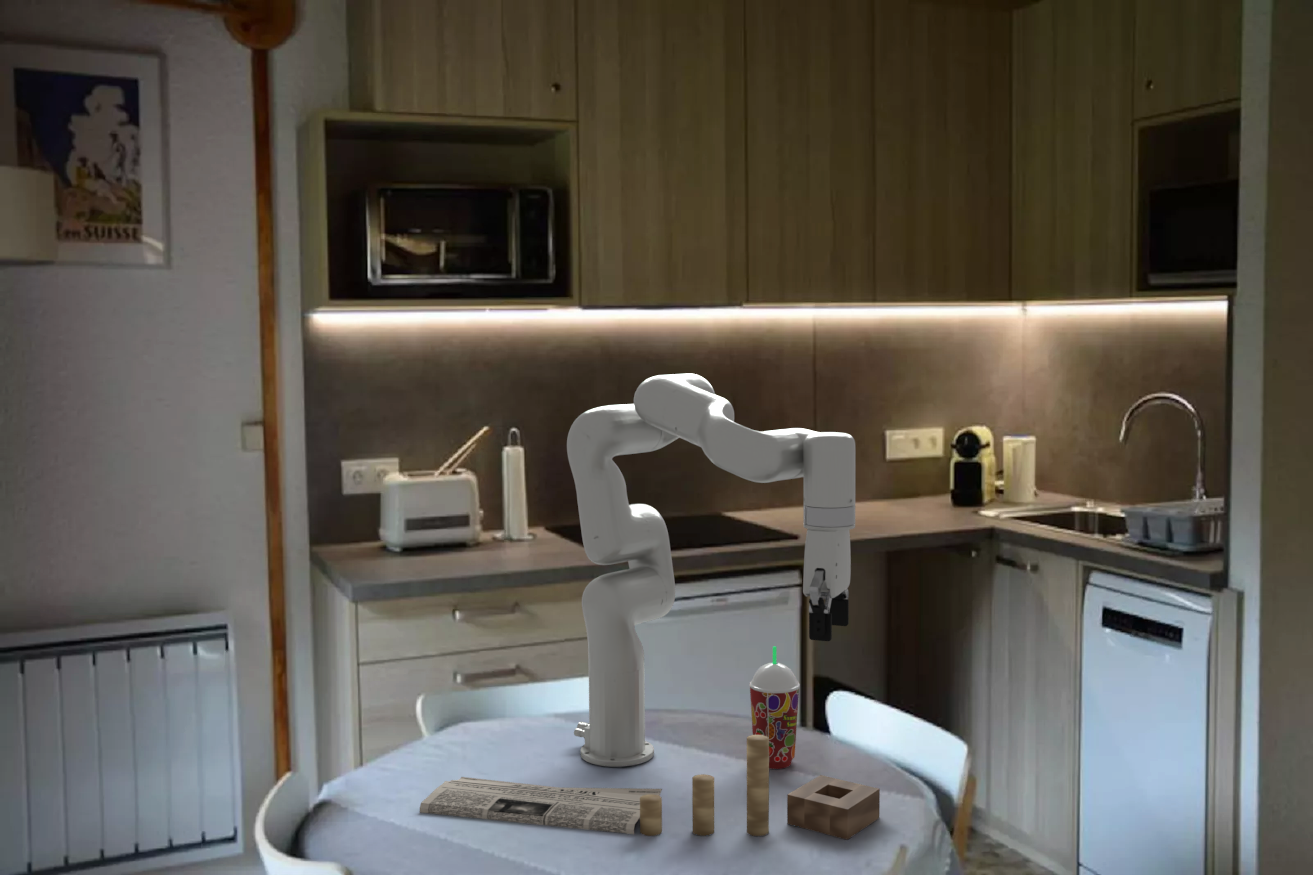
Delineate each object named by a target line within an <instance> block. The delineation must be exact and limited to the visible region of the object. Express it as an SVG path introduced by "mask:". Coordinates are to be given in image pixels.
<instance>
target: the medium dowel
mask: <svg viewBox="0 0 1313 875" xmlns="http://www.w3.org/2000/svg"><path fill="white" fill-rule="evenodd" d="M691 781H692V782H691V783H692V787H691V789H692V791H691V792H692V793H691V796H692V797H691V800H692V804H691V805H692V806H691V807H692V819H691V820H692V822H691V823H692V834H694V835H696V834H697V835H696V836H700V837H707V836H706V835H708V836H711V835H710V834H712V835H713V834H714V833H715V777H714V776H713V775H710V774H705V773H704V774H702V773H701V774H697V775H694V776H692V779H691Z"/></svg>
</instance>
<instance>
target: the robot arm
mask: <svg viewBox="0 0 1313 875" xmlns="http://www.w3.org/2000/svg"><path fill="white" fill-rule="evenodd" d="M566 439H567V440H566V452H567V460H568V463H569V467H570V470H571V473H572V477H573V480H574V485H575V491H576V500H577V506H578V507H577V508H578V515H579V516H578V517H579V523H580V530H581V538H582V543H583V548H584V552H585V555H586V558H588V560H589V561H591V562H592V563H594V564H595V565H600V566H608V565H609V566H610V565H614V564H615V565H616V564H621V563H626V562H628V563H627V564H628V567H629V568H628V569H627V568H626V569H622V570H618V571H617V570H616V571H612V572H608V573H604V574H601V575H599V576H598V577H595V578H593V579H592V580H591V581H590V582H588V584H587V585H586V586H585V588H584V590H583V592H582V595H581V609H582V615H583V619H584V620H583V621H584V625H585V629H586V630H585V631H586V638H587V652H588V653H587V655H588V656H587V657H588V659H587V660H588V662H587V663H588V718H589V719H588V722H585V721H579V722H578V724H577V726H576V728H575V729H574V730H573V735H574V736H575V737H579V738H583V739H584V744H583V745H582V746H581V747H580V757H581V759H582V760H584V761H586V762H587V763H589V764H592V765H596V766H601V767H609V768H616V767H617V768H619V767H631V766H636V765H640V764H643V763H645V762H648V761H650V760H651V759H653V757H654V755H655V747H654V745H653V744H652V743H650V742H649V741H647V740H646V707H645V706H646V703H645V702H646V701H645V700H646V698H645V697H646V695H645V694H646V693H645V690H646V688H645V686H646V682H645V681H646V680H645V679H646V678H645V677H646V676H645V673H646V670H645V652H644V647H643V643H642V642H641V640H640V637H639V635H638V633H637V631H636V629H635V626H637V625H640V624H643V623H647V622H650V621H654V620H657V619H661V618H663V617H664V616H666V615H667V614H669V613H670V611H671V609H672V608H673V606H674V603H675V599H676V583H675V576H674V567H673V566H674V565H673V560H672V559H673V558H672V551H671V543H670V535H669V532H668V528H667V525H666V522H665V520H664V518H663V516H662V514H660V512H659V511H658V510H657V509H656V508H654V507H653V506H652V505H649V504H646V503H631V504H630V503H629V499H628V492H627V485H626V484H627V483H626V480H625V477H624V475H623V473H622V472H621V470H620V468H619V466H618V465H617V463H615V461H614V459H613V458H614V457H618V456H624V455H632V454H633V455H634V454H641V453H650V452H654V451H657V450H660V449H662V448H664V447H666V446H668V445H670V444H671V443H673V442H674V441H676V440H678V439H682V440H684V441H686V442H689V443H690V444H692V445H695V446H697V447H699V448H701V450H702V451H703V454H704V455H705V456H706V457H707V459H709V461H710V462H711V463H713V465H715V467H717V468H719V469H721V470H723V471H726V472H728V473H730V474H733V475H735V476H736V477H739V478H742V479H744V480H747V481H751V482H752V483H753V482H754V483H761V484H763V483H764V484H766V483H767V484H768V483H773V482H777V481H785V480H791V479H792V480H795V479H800V478H803V504H802V505H803V506H802V508H803V517H802V518H803V521H802V522H803V523H802V524H803V528H804V529H807V531H806V536H805V543H804V557H803V558H804V559H803V579H802V581H803V582H802V583H803V584H802V593H803V595H804V597H810V598H809V599H808V604H809V606H808V638H809V640H810V641H819V642H820V641H821V642H830V641H831V640H832V639H833V637H832V635H833V634H832V632H833V630H832V629H833V626H838V627H848V625H849V616H850V615H849V613H850V612H849V610H850V608H849V602H850V600H849V597H850V596H849V594H850V592H849V589H848V588H849V586H850V583H851V572H852V571H851V570H852V567H851V566H852V564H851V562H852V561H851V559H852V557H851V551H852V550H851V536H850V533H851V532H850V530H854V529H855V528H856V440H855V438H854V437H853V436H852V435H851V434H849V433H847V432H838V431H837V432H836V431H821V432H820V431H815V430H811V429H807V428H802V427H791V428H781V429H773V430H764V431H763V430H762V431H759V430H754V429H751V428H749V427H747V426H745V425H742V424H739V423H738V422H735V410H734V407H733V405H732V403H731V402H730V401H729V400H728V399H726V398H725V397H722V396H720V395H717V394H716V393H715V390H714V388H713V386H712V385H711V383H710V382H709V381H708V380H707V379H706V378H704V377H703V376H701V375H699V374H697V373H696V374H695V373H686V372H685V373H675V374H674V373H672V374H658V375H654V376H651V377H648V378H646V379H645V380H644V381H642V382H641V383H640V384H639V385H638V387H637V388H636V391H635V392H634V397H633V403H627V404H626V403H625V404H624V403H623V404H621V403H620V404H608V405H602V406H597V407H594V408H591V409H588V410H586V411H584V412H583V413H580V415H578V416H577V418H575V419H574V421H573V423H572V424H571V425H570V429H569V431H568V434H567V438H566ZM824 600H825V601H824Z"/></svg>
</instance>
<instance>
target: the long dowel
mask: <svg viewBox="0 0 1313 875" xmlns="http://www.w3.org/2000/svg"><path fill="white" fill-rule="evenodd" d="M769 792H770V769H769V738H768V737H767V736H764V735H753V734H751V735H748V736H747V737H746V833H747V834H748V835H749V834H750V835H749V836H753V837H764V836H767V835H768V834H770V833H769V832H770V825H769V824H770V801H769V800H770V793H769ZM766 834H767V835H766Z"/></svg>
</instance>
